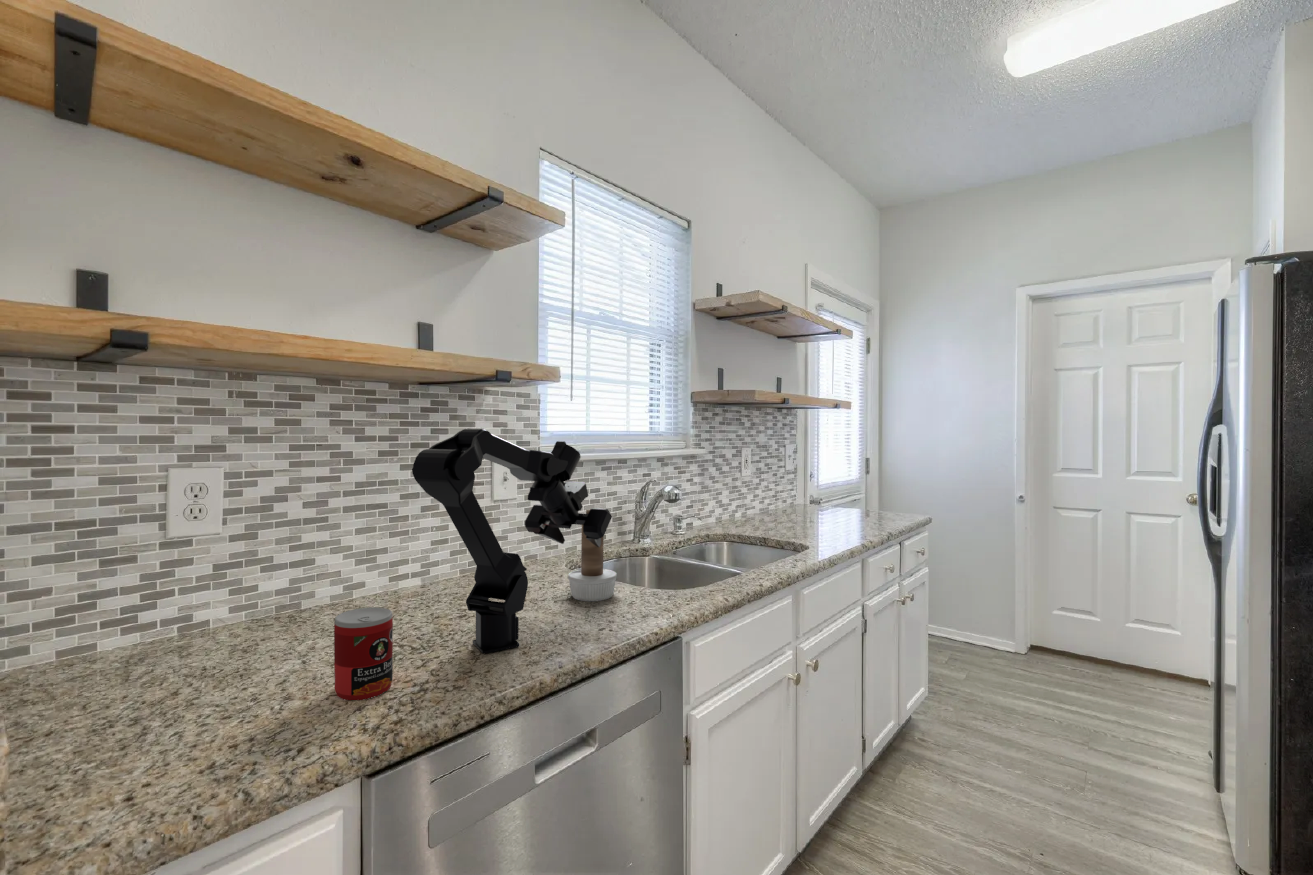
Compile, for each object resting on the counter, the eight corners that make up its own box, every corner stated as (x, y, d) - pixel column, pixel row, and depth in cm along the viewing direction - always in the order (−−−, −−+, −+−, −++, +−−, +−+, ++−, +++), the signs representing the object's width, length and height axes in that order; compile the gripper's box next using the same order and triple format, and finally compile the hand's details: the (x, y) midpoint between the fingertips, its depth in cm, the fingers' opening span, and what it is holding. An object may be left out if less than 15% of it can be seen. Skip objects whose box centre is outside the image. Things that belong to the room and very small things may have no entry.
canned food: (354, 706, 82) (354, 627, 82) (322, 692, 87) (322, 617, 86) (404, 686, 89) (404, 612, 89) (372, 674, 93) (372, 604, 93)
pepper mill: (593, 577, 134) (594, 512, 133) (576, 574, 137) (577, 510, 136) (607, 572, 138) (608, 509, 138) (590, 569, 141) (591, 507, 140)
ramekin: (589, 587, 145) (589, 565, 145) (626, 594, 139) (626, 572, 139) (557, 598, 136) (557, 574, 136) (595, 606, 130) (595, 582, 130)
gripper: (608, 470, 124) (630, 517, 134) (532, 468, 132) (559, 512, 142) (588, 513, 117) (614, 559, 127) (510, 507, 124) (540, 551, 134)
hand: (581, 543), depth 133 cm, fingers open, 9 cm apart
